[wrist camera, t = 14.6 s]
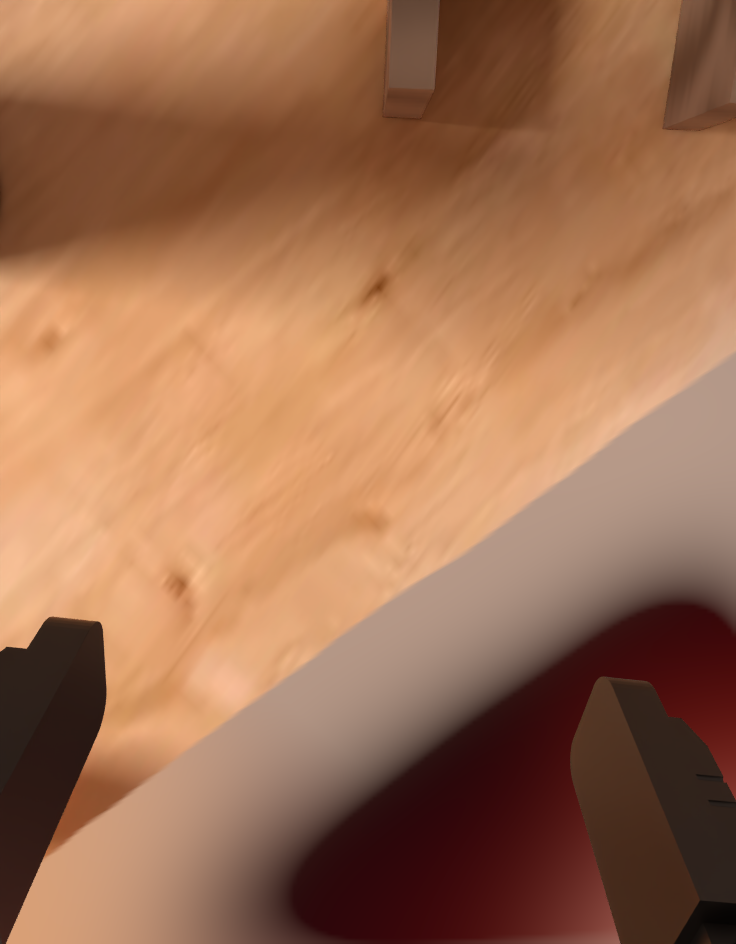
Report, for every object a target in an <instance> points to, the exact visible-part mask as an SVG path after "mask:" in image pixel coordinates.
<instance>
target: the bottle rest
mask: <svg viewBox="0 0 736 944" xmlns="http://www.w3.org/2000/svg"><path fill="white" fill-rule="evenodd" d="M439 7H440V0H388V1H387V26H386V52H385V78H384V104H383V117H399V118H421V117H422V115H423V113H424V110H425V108H426V106H427V104H428V102H429V100H430V98H431V96H432V94H433V92H434V90H435V75H436V58H437V41H438V24H439ZM734 118H736V0H682V5H681V11H680V18H679V25H678V31H677V38H676V45H675V51H674V58H673V64H672V71H671V78H670V84H669V91H668V97H667V104H666V111H665V117H664V124H663V129H677V130H703V129H705V128H708V127H711V126H714V125H717V124H720V123H723V122H726V121H729V120H732V119H734Z"/></svg>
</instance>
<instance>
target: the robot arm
mask: <svg viewBox="0 0 736 944" xmlns="http://www.w3.org/2000/svg"><path fill="white" fill-rule="evenodd" d="M105 705H106V675H105V658H104V641H103V629H102V625H101V623H100V622H97V621H87V620H78V619H68V618H59V617H49V618H48V619H47V620H46V621H45V622H44V623H43V625H42V626H41V628H40V629H39V631H38V632H37V634H36V636H35V637H34V639H33V640H32V642H31V643H30V645H29V647H28V648H27V649H23V648H13V647H6V648H5V649H4V650H2V651H1V652H0V944H6V942H7V939H8V937H9V935H10V933H11V930H12V928H13V926H14V923H15V921H16V919H17V917H18V914H19V912H20V910H21V908H22V905H23V903H24V900H25V898H26V896H27V894H28V891H29V889H30V887H31V885H32V883H33V880H34V878H35V876H36V873H37V871H38V869H39V867H40V864H41V862H42V860H43V857H44V855H45V853H46V851H47V848H48V846H49V844H50V842H51V839H52V837H53V835H54V832H55V830H56V828H57V826H58V823H59V821H60V819H61V816H62V814H63V812H64V810H65V807H66V805H67V803H68V801H69V798H70V796H71V794H72V791H73V789H74V787H75V785H76V782H77V780H78V778H79V775H80V773H81V771H82V769H83V766H84V764H85V762H86V760H87V757H88V755H89V753H90V750H91V748H92V746H93V744H94V741H95V739H96V737H97V734H98V732H99V729H100V726H101V723H102V719H103V715H104V711H105ZM570 763H571V774H572V779H573V783H574V787H575V790H576V794H577V797H578V800H579V804H580V807H581V810H582V814H583V817H584V821H585V824H586V828H587V831H588V834H589V838H590V841H591V844H592V848H593V851H594V855H595V858H596V862H597V865H598V868H599V872H600V875H601V879H602V882H603V885H604V889H605V892H606V895H607V899H608V902H609V906H610V909H611V912H612V916H613V919H614V923H615V926H616V929H617V933H618V936H619V940H620V943H621V944H736V800H735V798H734V796H733V794H732V792H731V791H730V789H729V787H728V785H727V783H724V782H723V775H722V773H721V771H720V769H719V768H718V766H717V764H716V762H715V760H714V758H713V756H712V754H711V752H710V750H709V748H708V746H707V745H706V744H705V743H704V742H703V741H702V740H701V739H700V738H699V737H698V736H697V735H696V734H695V733H694V732H693V730H692V729H691V728H690V727H689V726H688V725H687V724H686V723H685V722H684V721H683V720H682V719H681V718H674V717H668V716H667V714H666V712H665V710H664V707H663V705H662V703H661V701H660V699H659V697H658V695H657V693H656V691H655V689H654V687H653V686H652V685H651V684H650V683H649V682H646V681H637V680H628V679H618V678H609V677H601V678H599V679H598V680H597V681H596V683H595V685H594V687H593V690H592V692H591V695H590V698H589V700H588V703H587V705H586V708H585V711H584V713H583V716H582V718H581V721H580V724H579V726H578V729H577V731H576V734H575V736H574V739H573V743H572V747H571V761H570Z"/></svg>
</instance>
